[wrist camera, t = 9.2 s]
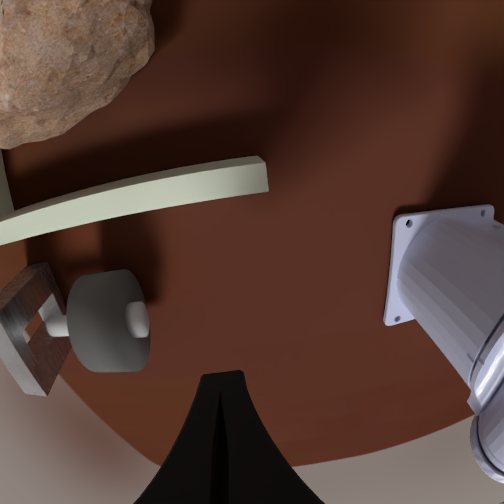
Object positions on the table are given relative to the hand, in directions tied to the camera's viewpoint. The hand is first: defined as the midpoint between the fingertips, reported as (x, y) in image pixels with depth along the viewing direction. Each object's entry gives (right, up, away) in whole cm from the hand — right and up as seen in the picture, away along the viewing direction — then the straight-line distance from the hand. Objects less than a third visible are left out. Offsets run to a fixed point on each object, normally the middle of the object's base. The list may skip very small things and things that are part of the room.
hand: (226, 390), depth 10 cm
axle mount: (-12, +1, +7) cm, 14 cm away
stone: (-10, +16, +1) cm, 19 cm away
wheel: (-8, +2, +7) cm, 10 cm away
